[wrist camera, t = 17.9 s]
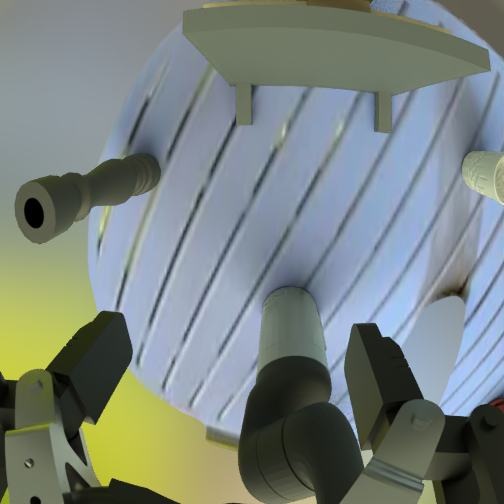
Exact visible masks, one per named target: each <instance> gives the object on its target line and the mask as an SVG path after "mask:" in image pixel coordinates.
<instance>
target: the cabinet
mask: <svg viewBox="0 0 504 504" xmlns="http://www.w3.org/2000/svg"><path fill="white" fill-rule="evenodd" d="M296 1H307V6H320V7H330V8H339V9H346V10H353V11H360V12H366V13H371V9H370V3H371V2H372V0H296Z"/></svg>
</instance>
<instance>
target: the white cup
mask: <svg viewBox="0 0 504 504" xmlns="http://www.w3.org/2000/svg"><path fill="white" fill-rule="evenodd" d="M462 176H463V178H464V181H465V183H466V184H467V185H468V186H469V187H470V188H471V189H473V190H476V191H478V192H479V193H481V194H483V195H485V196H486V197H488V198H491V199H493V200H495V201H497V202H499V203H501V204H503V205H504V153H502V152H493V151H473V152H470V153H468V154H467V156H466V157H465V158H464V161H463V164H462Z"/></svg>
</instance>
